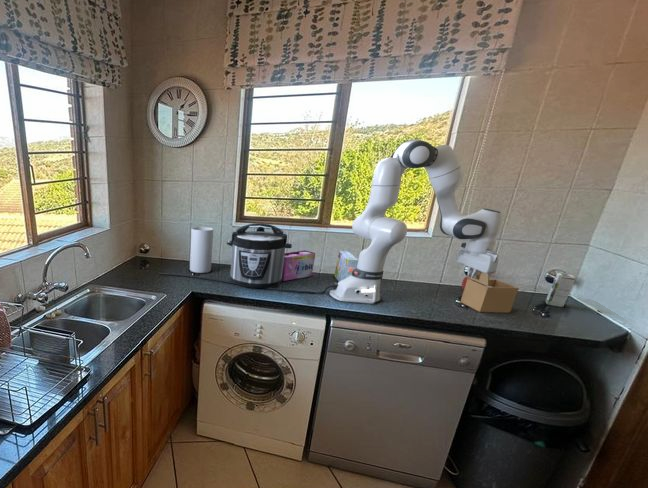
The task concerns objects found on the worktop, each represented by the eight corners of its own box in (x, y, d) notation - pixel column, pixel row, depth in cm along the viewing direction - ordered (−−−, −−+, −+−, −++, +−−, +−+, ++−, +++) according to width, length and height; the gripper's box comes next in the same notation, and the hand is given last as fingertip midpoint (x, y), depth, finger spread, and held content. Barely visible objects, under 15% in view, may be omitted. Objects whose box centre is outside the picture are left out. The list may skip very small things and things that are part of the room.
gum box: (281, 281, 219) (285, 257, 214) (271, 278, 226) (274, 254, 221) (312, 276, 230) (316, 252, 225) (301, 272, 237) (304, 250, 232)
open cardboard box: (479, 311, 179) (487, 287, 175) (460, 301, 191) (467, 278, 187) (510, 312, 178) (518, 288, 174) (488, 302, 190) (496, 279, 186)
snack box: (353, 288, 209) (359, 260, 204) (342, 287, 210) (347, 259, 205) (343, 276, 229) (349, 250, 223) (333, 276, 230) (338, 250, 224)
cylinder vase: (212, 269, 243) (215, 227, 233) (207, 274, 232) (210, 231, 223) (192, 267, 247) (194, 226, 238) (187, 272, 236) (189, 229, 227)
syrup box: (544, 301, 192) (556, 272, 187) (561, 304, 189) (573, 274, 184) (546, 304, 188) (558, 275, 183) (564, 307, 185) (576, 277, 180)
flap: (488, 285, 175) (487, 286, 175) (468, 277, 187) (467, 277, 187) (489, 272, 172) (488, 272, 172) (468, 264, 184) (467, 264, 184)
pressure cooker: (215, 280, 221) (219, 222, 209) (248, 272, 237) (254, 217, 225) (260, 294, 199) (268, 230, 187) (293, 284, 215) (302, 224, 203)
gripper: (506, 252, 165) (496, 284, 170) (472, 242, 184) (463, 271, 189) (490, 252, 165) (480, 284, 171) (457, 242, 184) (449, 271, 189)
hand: (471, 277), depth 180 cm, fingers closed
